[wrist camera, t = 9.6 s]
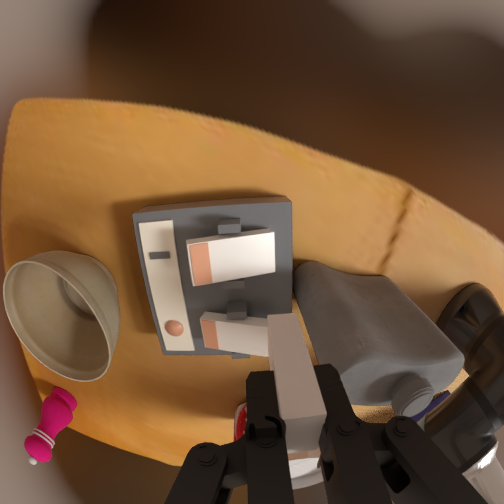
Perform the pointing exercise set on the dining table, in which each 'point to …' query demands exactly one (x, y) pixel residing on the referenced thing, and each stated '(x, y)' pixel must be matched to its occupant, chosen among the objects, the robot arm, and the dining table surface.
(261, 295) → the switch unit
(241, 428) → the soda can
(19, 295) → the planter bowl
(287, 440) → the robot arm
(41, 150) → the dining table surface
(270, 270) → the rocker
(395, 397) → the flask
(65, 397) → the pepper mill
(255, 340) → the block
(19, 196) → the dining table surface
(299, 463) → the dish
